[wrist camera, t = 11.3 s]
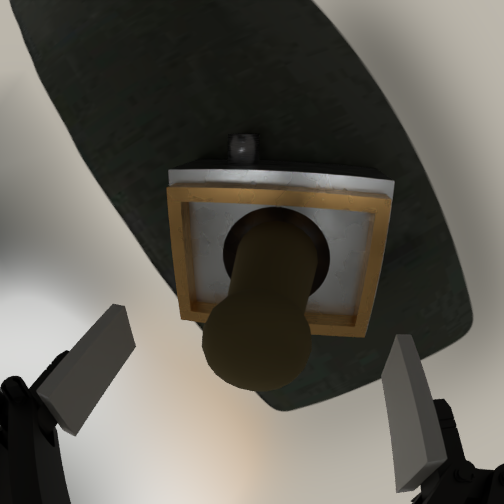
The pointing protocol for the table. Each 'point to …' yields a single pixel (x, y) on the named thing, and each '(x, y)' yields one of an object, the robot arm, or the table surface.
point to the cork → (264, 310)
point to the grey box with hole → (285, 210)
